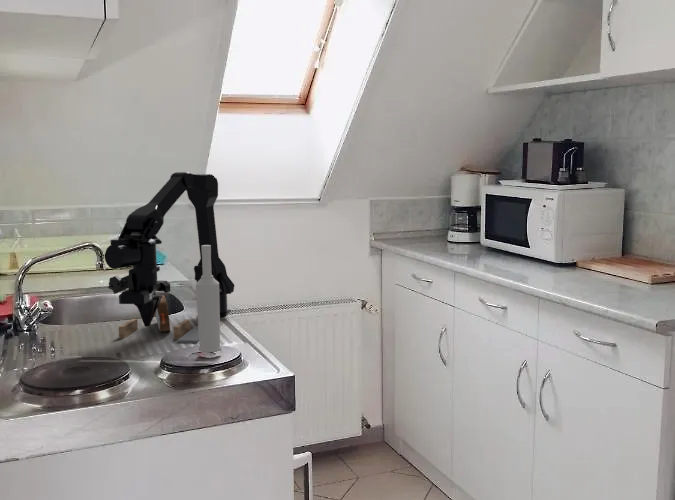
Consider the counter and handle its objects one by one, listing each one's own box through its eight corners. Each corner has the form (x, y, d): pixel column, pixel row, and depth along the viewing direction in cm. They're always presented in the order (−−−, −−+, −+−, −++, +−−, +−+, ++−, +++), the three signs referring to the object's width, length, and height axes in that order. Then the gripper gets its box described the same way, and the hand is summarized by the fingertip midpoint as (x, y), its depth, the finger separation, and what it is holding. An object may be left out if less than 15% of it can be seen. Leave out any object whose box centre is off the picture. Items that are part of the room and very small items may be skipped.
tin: (171, 334, 178) (169, 302, 177) (158, 335, 177) (156, 303, 176) (166, 322, 192) (164, 292, 191) (154, 323, 191) (153, 293, 190)
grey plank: (197, 327, 185) (197, 325, 185) (215, 327, 184) (215, 325, 184) (177, 342, 169) (177, 340, 169) (197, 342, 169) (197, 340, 169)
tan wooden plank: (133, 329, 183) (132, 318, 183) (190, 330, 182) (189, 319, 181) (119, 338, 174) (118, 326, 174) (178, 339, 173) (178, 327, 172)
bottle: (226, 353, 159) (222, 244, 156) (214, 359, 154) (210, 247, 151) (206, 351, 160) (201, 243, 157) (194, 357, 156) (189, 246, 153)
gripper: (128, 259, 181) (131, 318, 183) (96, 268, 163) (99, 334, 165) (170, 259, 180) (172, 318, 182) (141, 269, 162) (144, 335, 163)
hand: (147, 326), depth 173 cm, fingers closed
